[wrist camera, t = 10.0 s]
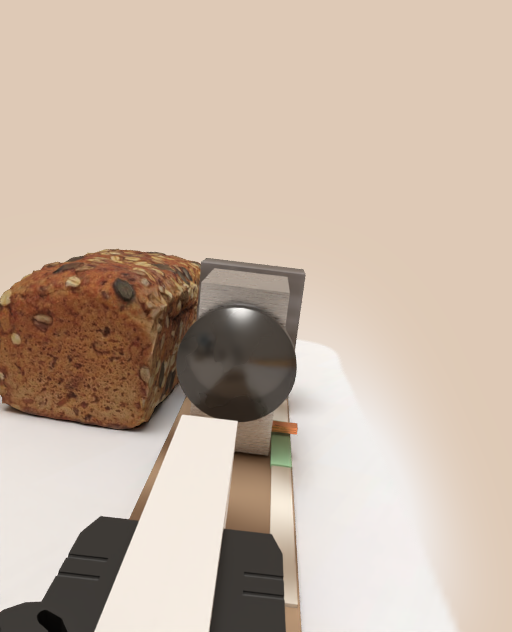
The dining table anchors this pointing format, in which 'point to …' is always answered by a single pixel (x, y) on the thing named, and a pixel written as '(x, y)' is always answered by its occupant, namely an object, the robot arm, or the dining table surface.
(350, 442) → the dining table surface
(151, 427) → the dining table surface
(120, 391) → the bread
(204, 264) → the gauge body
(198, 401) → the brushed steel block
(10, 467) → the dining table surface
